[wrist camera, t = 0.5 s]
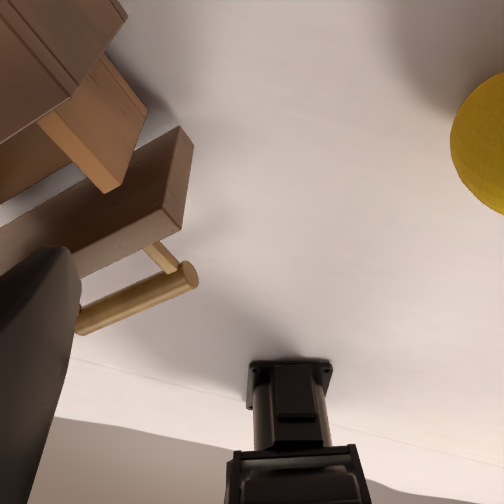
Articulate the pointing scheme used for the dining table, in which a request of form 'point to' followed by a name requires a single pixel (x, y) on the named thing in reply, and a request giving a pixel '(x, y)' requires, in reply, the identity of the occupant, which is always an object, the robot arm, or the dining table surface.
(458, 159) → the lemon
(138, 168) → the drawer
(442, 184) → the dining table surface
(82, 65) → the cabinet
